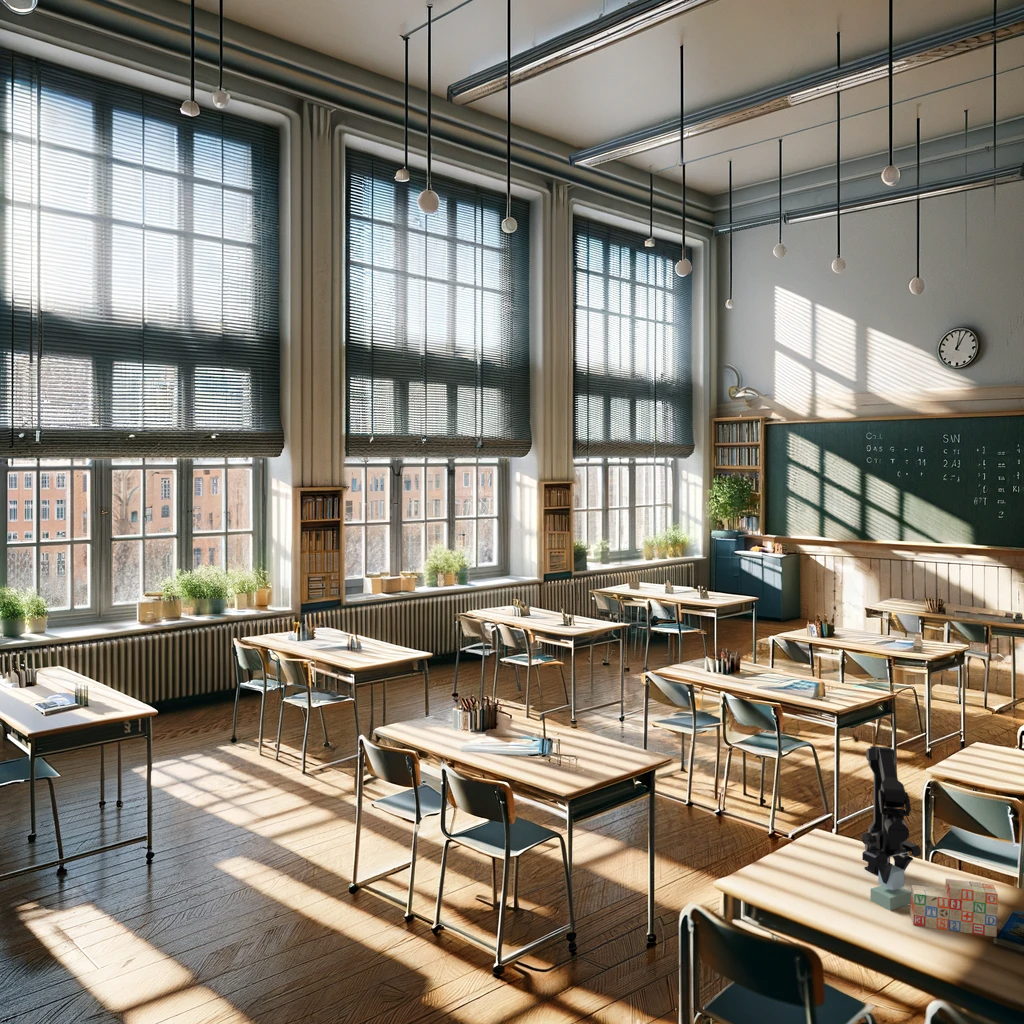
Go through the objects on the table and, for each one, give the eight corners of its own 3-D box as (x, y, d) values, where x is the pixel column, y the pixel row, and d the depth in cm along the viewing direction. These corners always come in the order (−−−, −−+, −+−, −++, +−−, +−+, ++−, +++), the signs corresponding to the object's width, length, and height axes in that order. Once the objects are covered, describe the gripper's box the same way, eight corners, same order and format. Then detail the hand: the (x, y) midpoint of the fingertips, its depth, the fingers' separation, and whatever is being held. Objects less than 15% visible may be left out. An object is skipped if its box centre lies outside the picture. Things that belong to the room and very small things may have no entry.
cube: (890, 880, 278) (890, 863, 278) (904, 886, 274) (904, 870, 273) (878, 883, 276) (878, 866, 275) (892, 890, 271) (892, 873, 271)
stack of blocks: (912, 926, 261) (913, 882, 260) (910, 915, 267) (911, 873, 266) (997, 937, 255) (998, 893, 254) (992, 926, 261) (993, 883, 260)
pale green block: (891, 895, 280) (891, 882, 280) (911, 905, 274) (911, 891, 274) (870, 901, 276) (870, 888, 276) (889, 911, 270) (890, 898, 269)
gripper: (891, 815, 285) (890, 865, 286) (848, 825, 277) (847, 877, 277) (922, 827, 276) (921, 879, 276) (878, 838, 267) (877, 892, 267)
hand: (891, 881), depth 275 cm, fingers closed on cube, 5 cm apart
